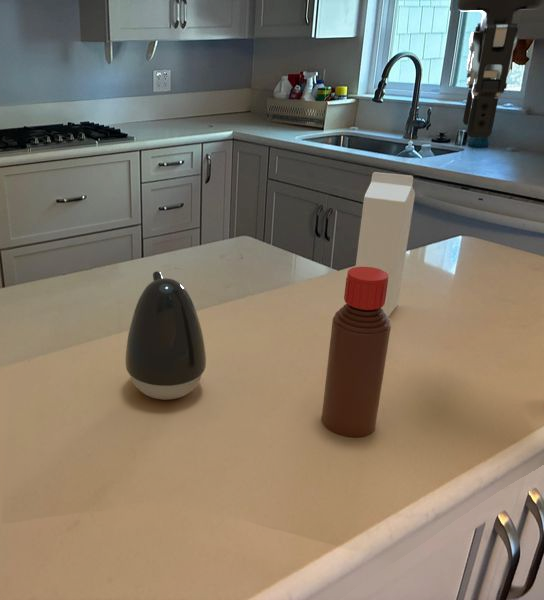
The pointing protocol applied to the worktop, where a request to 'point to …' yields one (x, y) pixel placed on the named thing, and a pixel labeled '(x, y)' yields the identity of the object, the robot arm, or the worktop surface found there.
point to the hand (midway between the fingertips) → (475, 130)
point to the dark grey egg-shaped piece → (165, 341)
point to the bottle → (355, 370)
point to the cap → (366, 288)
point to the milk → (386, 229)
